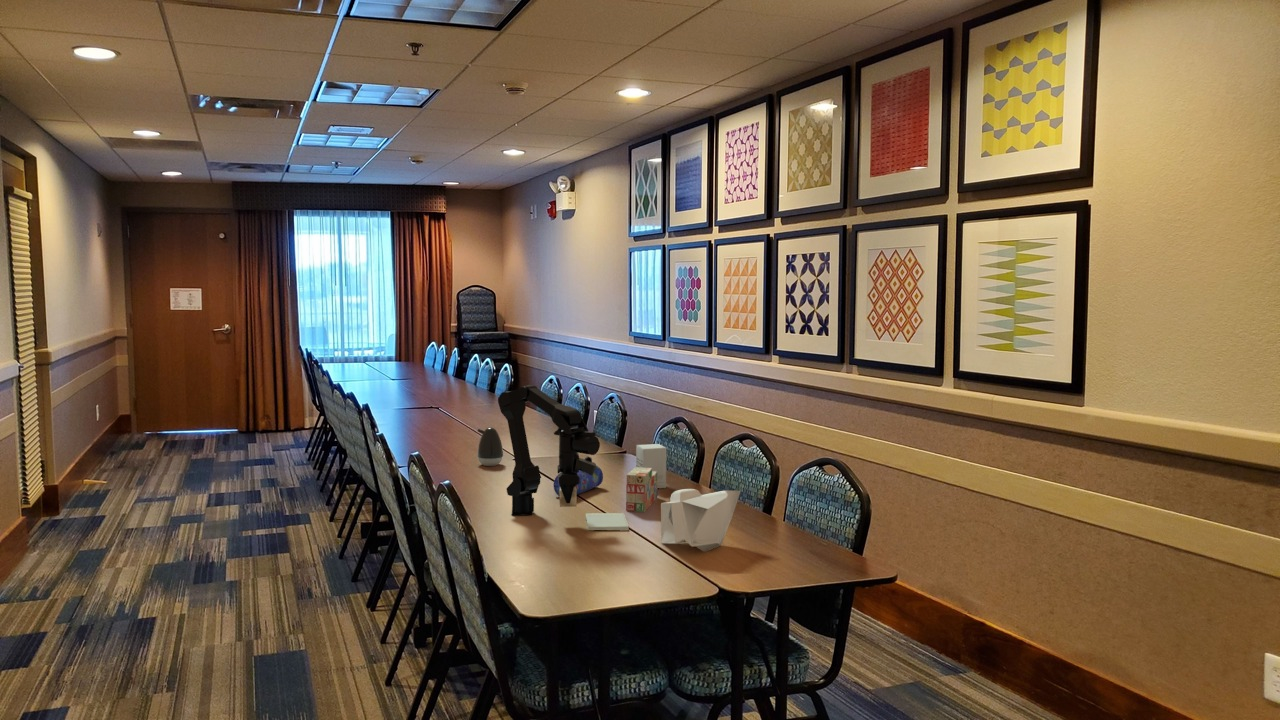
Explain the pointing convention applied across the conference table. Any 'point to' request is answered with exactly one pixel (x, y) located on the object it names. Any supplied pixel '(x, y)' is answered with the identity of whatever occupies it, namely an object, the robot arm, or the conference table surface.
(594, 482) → the pencil case
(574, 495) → the beige cube
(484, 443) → the grey egg-shaped body
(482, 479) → the conference table surface
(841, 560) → the conference table surface
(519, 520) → the conference table surface
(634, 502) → the stack of blocks
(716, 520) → the folded paper
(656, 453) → the supplement box
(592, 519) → the sage board
